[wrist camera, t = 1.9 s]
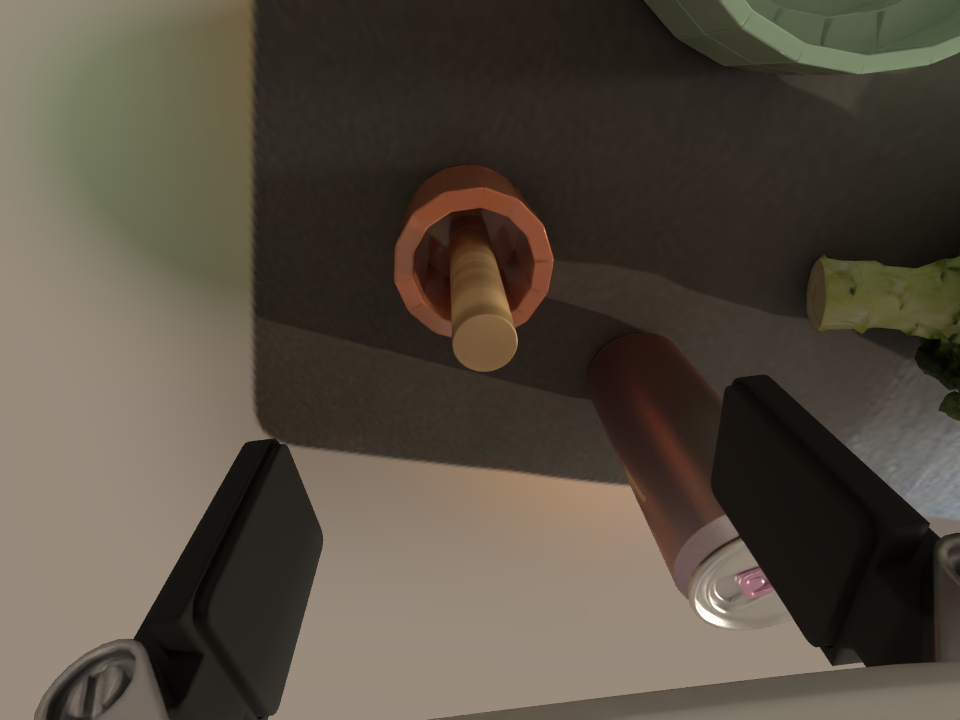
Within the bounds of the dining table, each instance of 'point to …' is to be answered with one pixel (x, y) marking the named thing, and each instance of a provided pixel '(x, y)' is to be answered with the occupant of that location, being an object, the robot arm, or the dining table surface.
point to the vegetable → (895, 309)
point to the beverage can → (679, 477)
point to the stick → (478, 299)
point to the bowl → (815, 33)
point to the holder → (510, 234)
